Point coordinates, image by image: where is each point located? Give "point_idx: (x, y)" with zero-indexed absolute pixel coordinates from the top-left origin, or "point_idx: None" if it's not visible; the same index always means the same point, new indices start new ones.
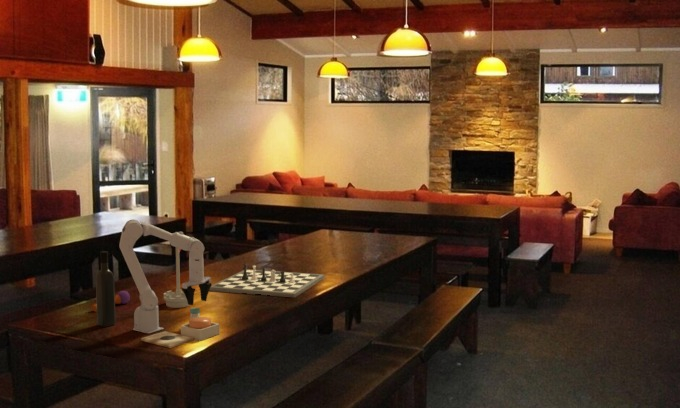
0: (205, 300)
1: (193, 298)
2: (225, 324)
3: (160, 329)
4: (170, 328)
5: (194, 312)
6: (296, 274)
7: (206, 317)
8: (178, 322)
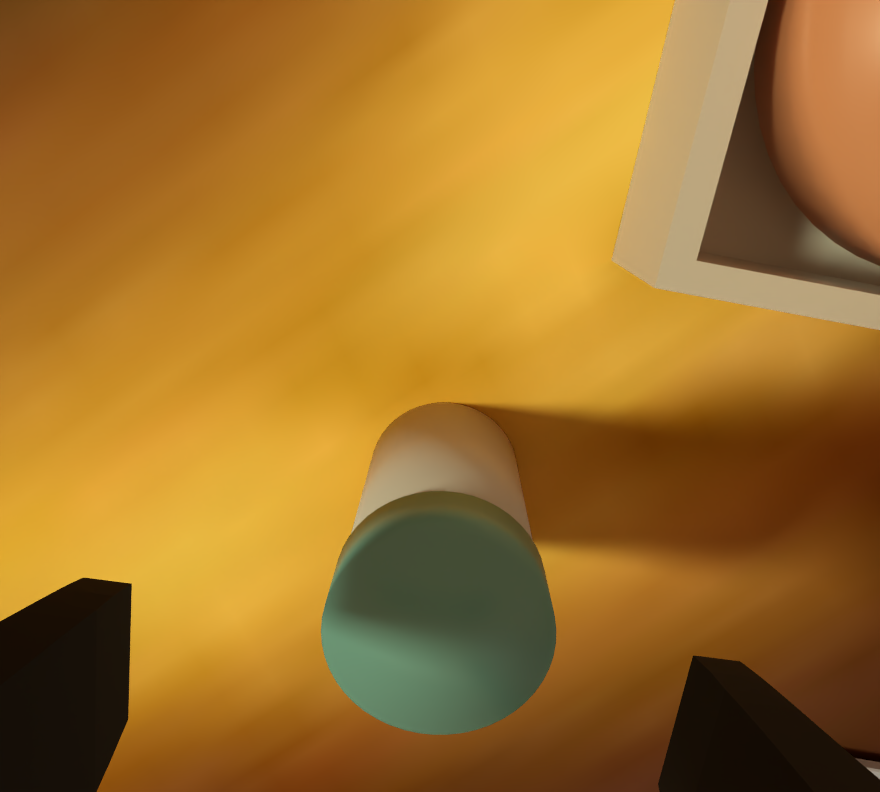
0: (113, 587)
1: (820, 789)
2: (124, 32)
3: (876, 765)
4: None
5: (533, 555)
6: None
7: None
8: (404, 771)
